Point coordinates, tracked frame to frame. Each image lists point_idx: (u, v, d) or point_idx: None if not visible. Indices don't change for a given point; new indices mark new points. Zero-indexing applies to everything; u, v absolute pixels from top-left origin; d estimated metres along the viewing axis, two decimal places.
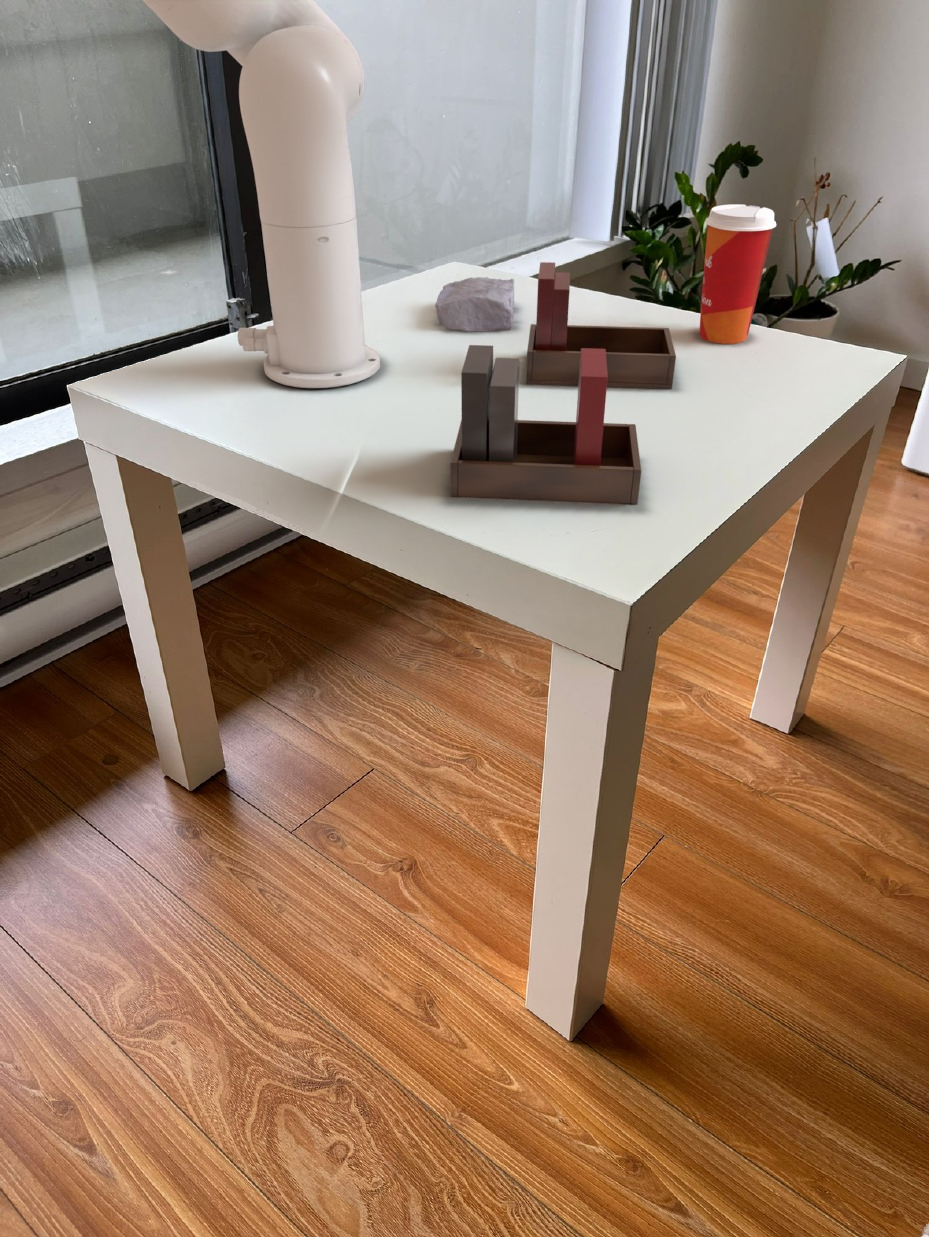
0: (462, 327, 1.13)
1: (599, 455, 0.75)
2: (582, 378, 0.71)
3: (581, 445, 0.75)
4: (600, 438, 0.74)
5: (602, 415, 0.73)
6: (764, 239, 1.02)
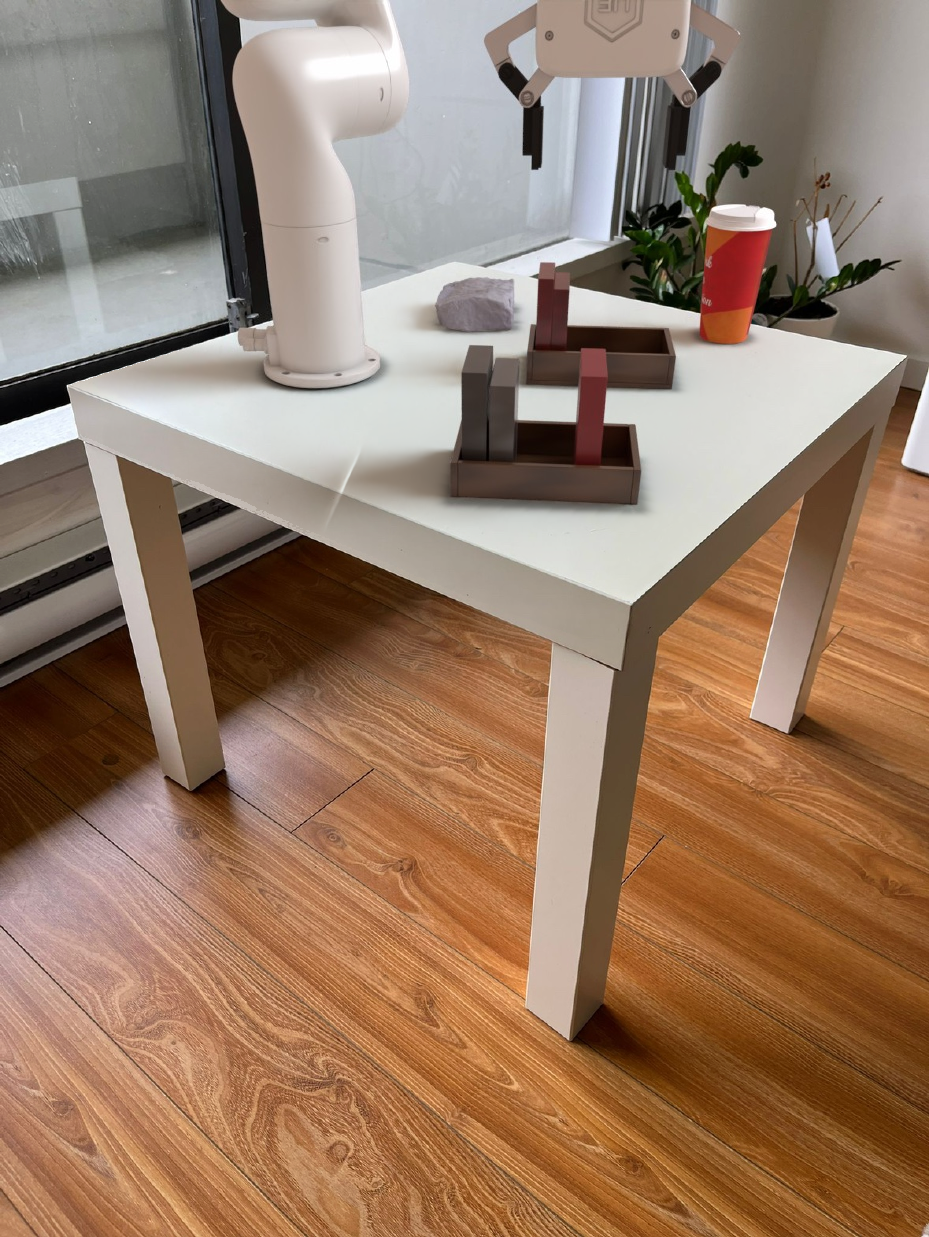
0: (462, 327, 1.13)
1: (599, 455, 0.75)
2: (582, 378, 0.71)
3: (581, 445, 0.75)
4: (600, 438, 0.74)
5: (602, 415, 0.73)
6: (764, 239, 1.02)
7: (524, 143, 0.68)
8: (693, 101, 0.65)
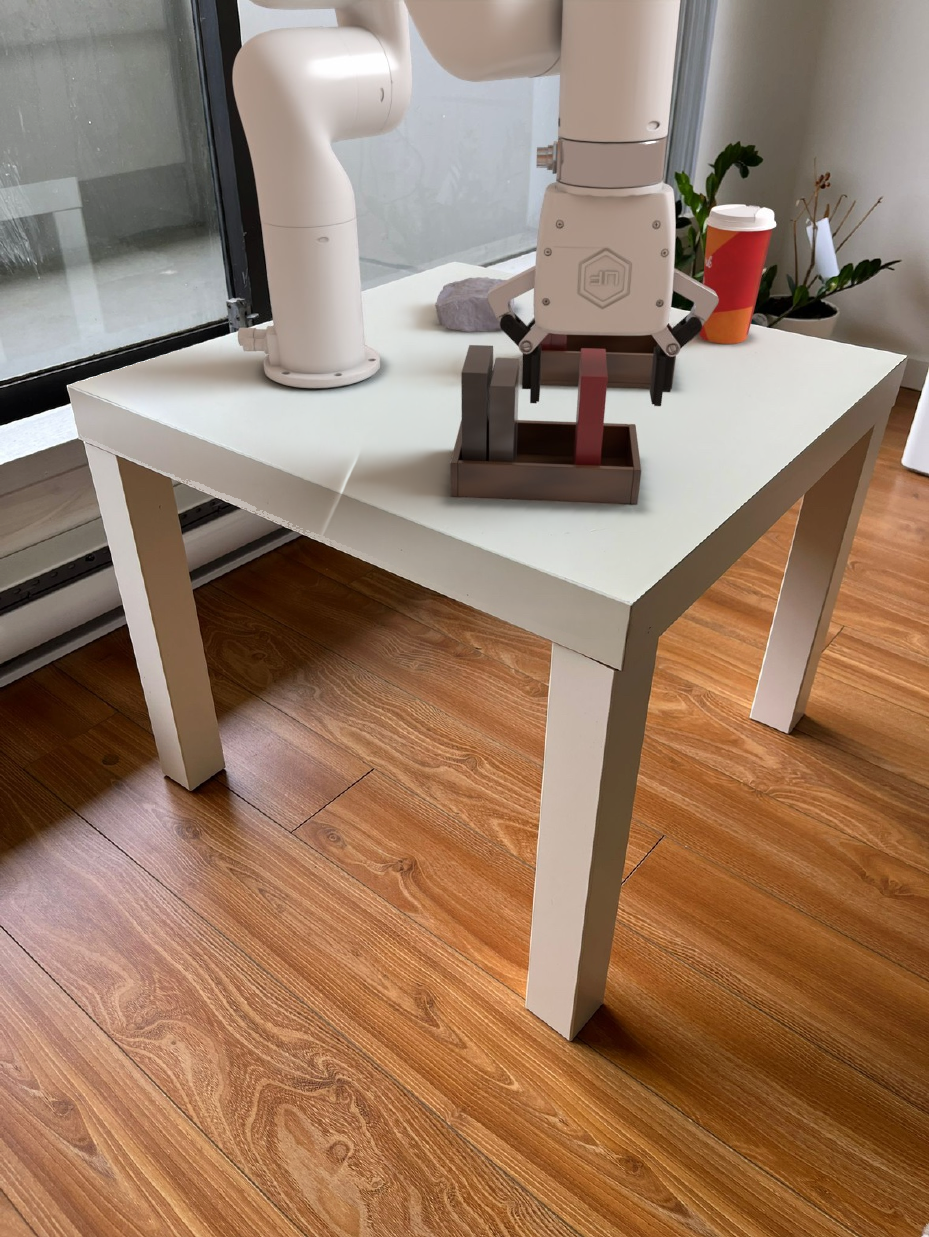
0: (462, 327, 1.13)
1: (599, 455, 0.75)
2: (582, 378, 0.71)
3: (581, 445, 0.75)
4: (600, 438, 0.74)
5: (602, 415, 0.73)
6: (764, 239, 1.02)
7: (523, 380, 0.74)
8: (677, 351, 0.71)
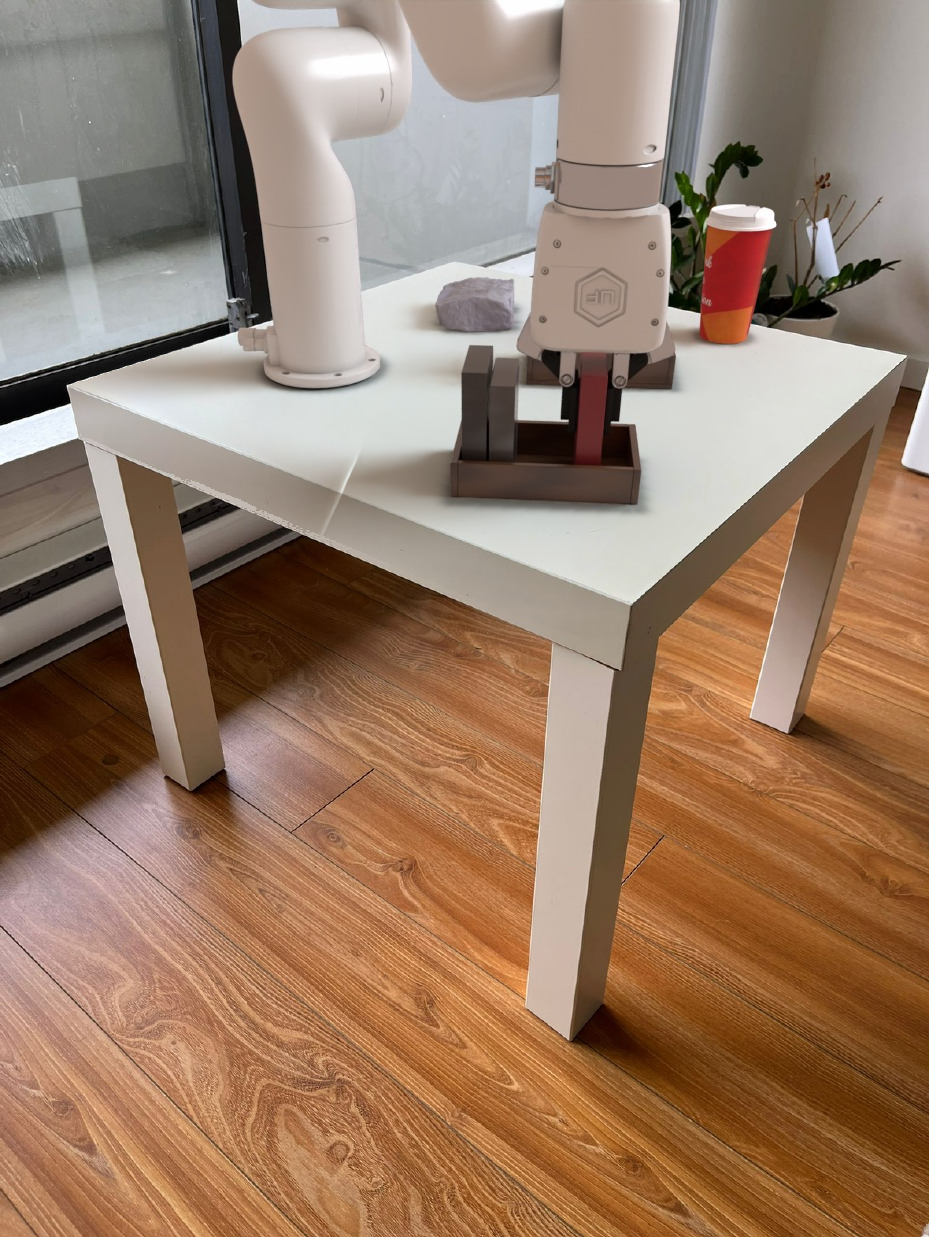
0: (462, 327, 1.13)
1: (600, 455, 0.75)
2: (582, 378, 0.71)
3: (581, 445, 0.75)
4: (600, 438, 0.74)
5: (602, 415, 0.73)
6: (764, 239, 1.02)
7: (562, 411, 0.76)
8: (624, 383, 0.73)
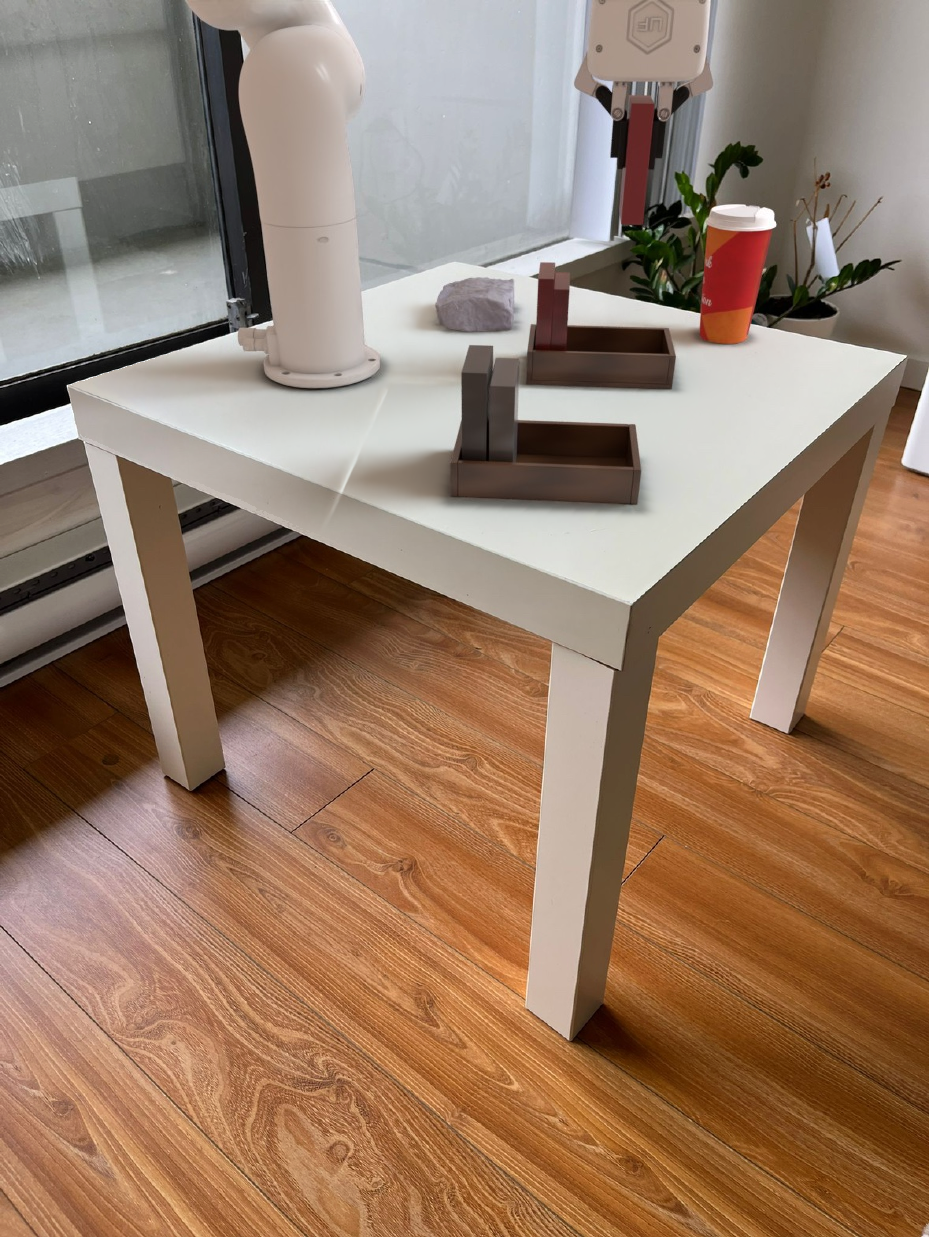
0: (462, 327, 1.13)
1: (645, 183, 0.85)
2: (632, 105, 0.82)
3: (629, 174, 0.85)
4: (646, 166, 0.85)
5: (649, 143, 0.84)
6: (764, 239, 1.02)
7: (612, 148, 0.86)
8: (668, 116, 0.84)
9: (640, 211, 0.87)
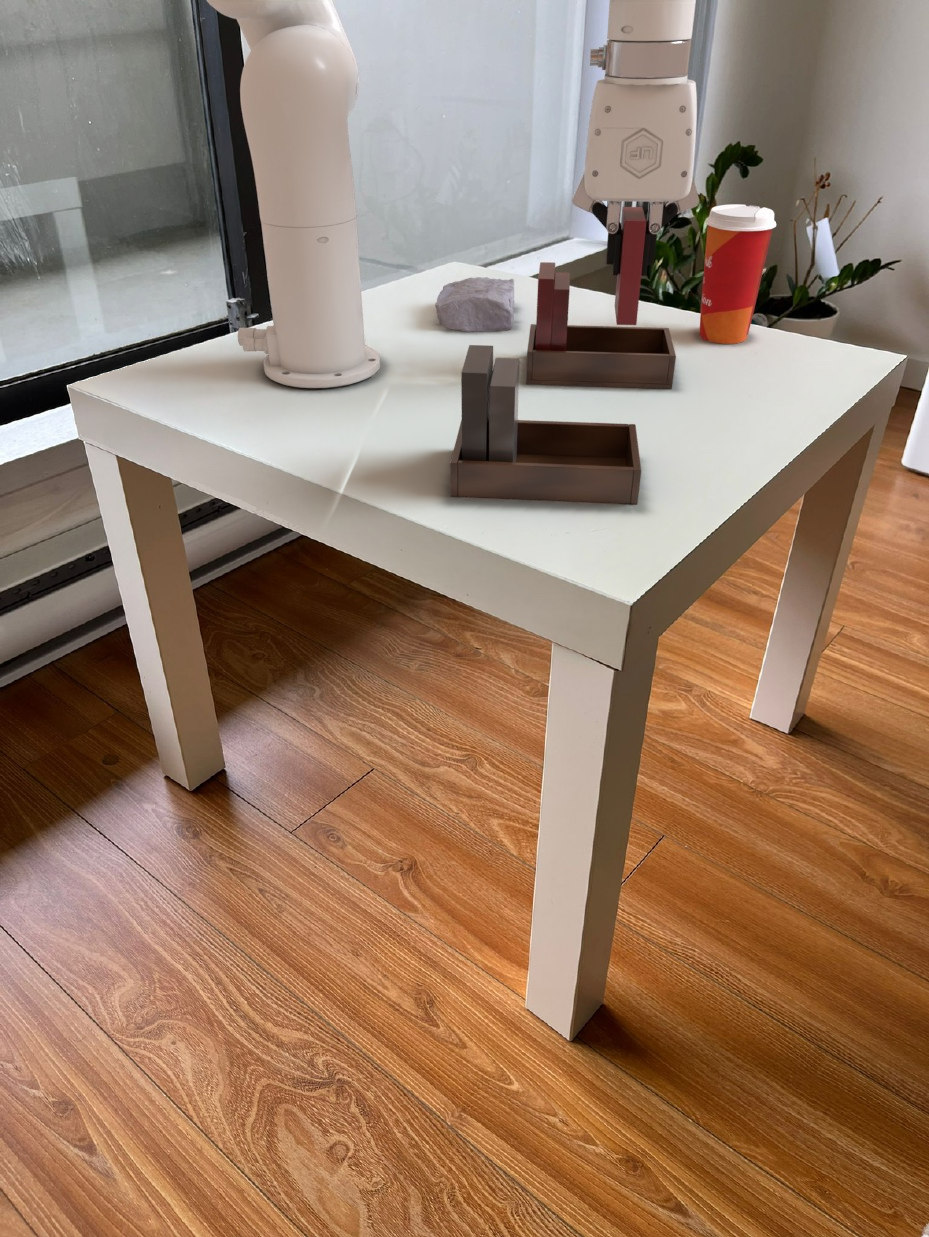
0: (462, 327, 1.13)
1: (638, 289, 0.93)
2: (626, 222, 0.90)
3: (624, 282, 0.93)
4: (639, 275, 0.93)
5: (641, 254, 0.91)
6: (764, 239, 1.02)
7: (608, 256, 0.94)
8: (658, 230, 0.92)
9: (634, 313, 0.95)
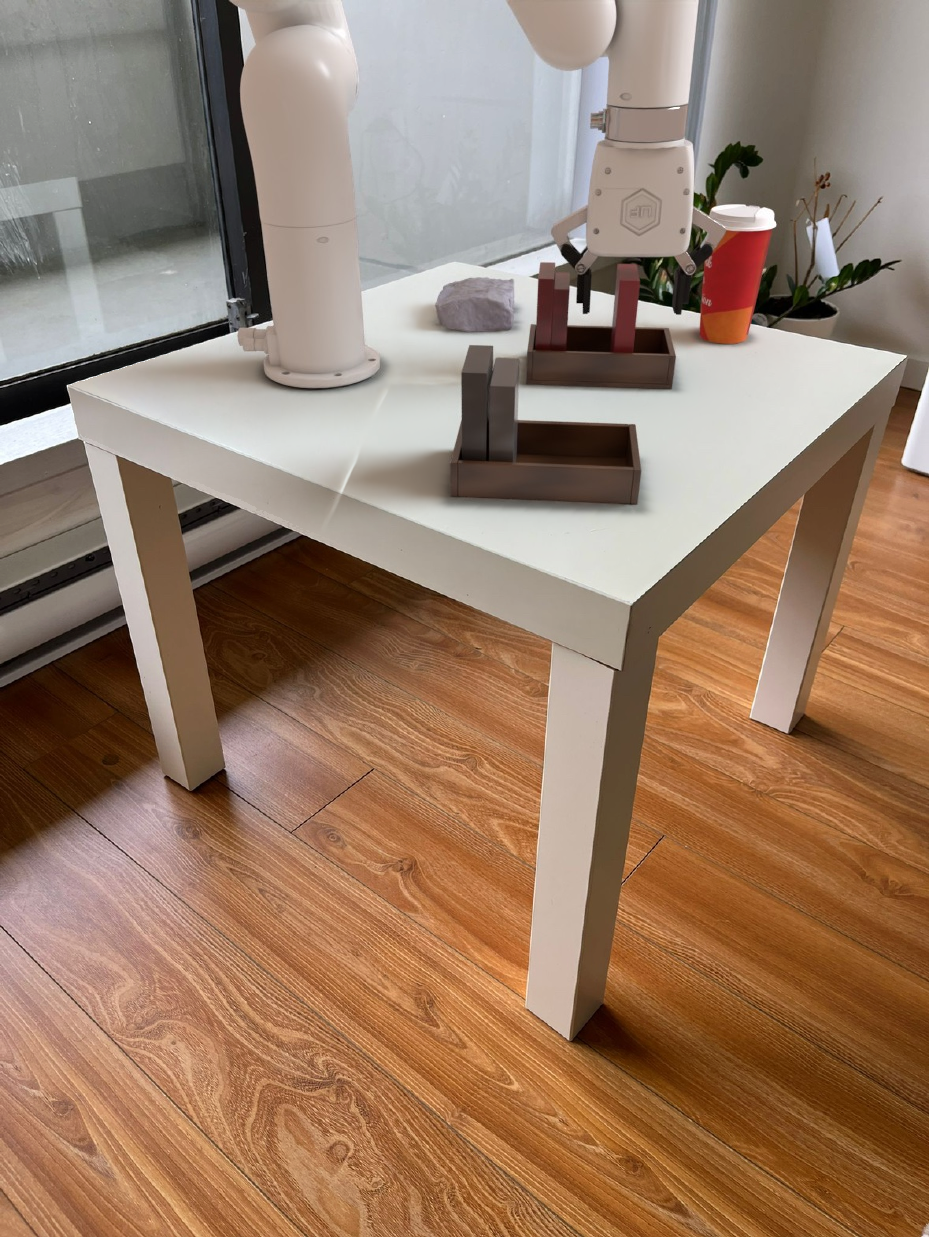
0: (462, 327, 1.13)
1: (632, 345, 0.97)
2: (620, 282, 0.93)
3: (618, 337, 0.96)
4: (633, 331, 0.96)
5: (635, 312, 0.95)
6: (764, 239, 1.02)
7: (578, 296, 0.97)
8: (693, 271, 0.94)
9: None
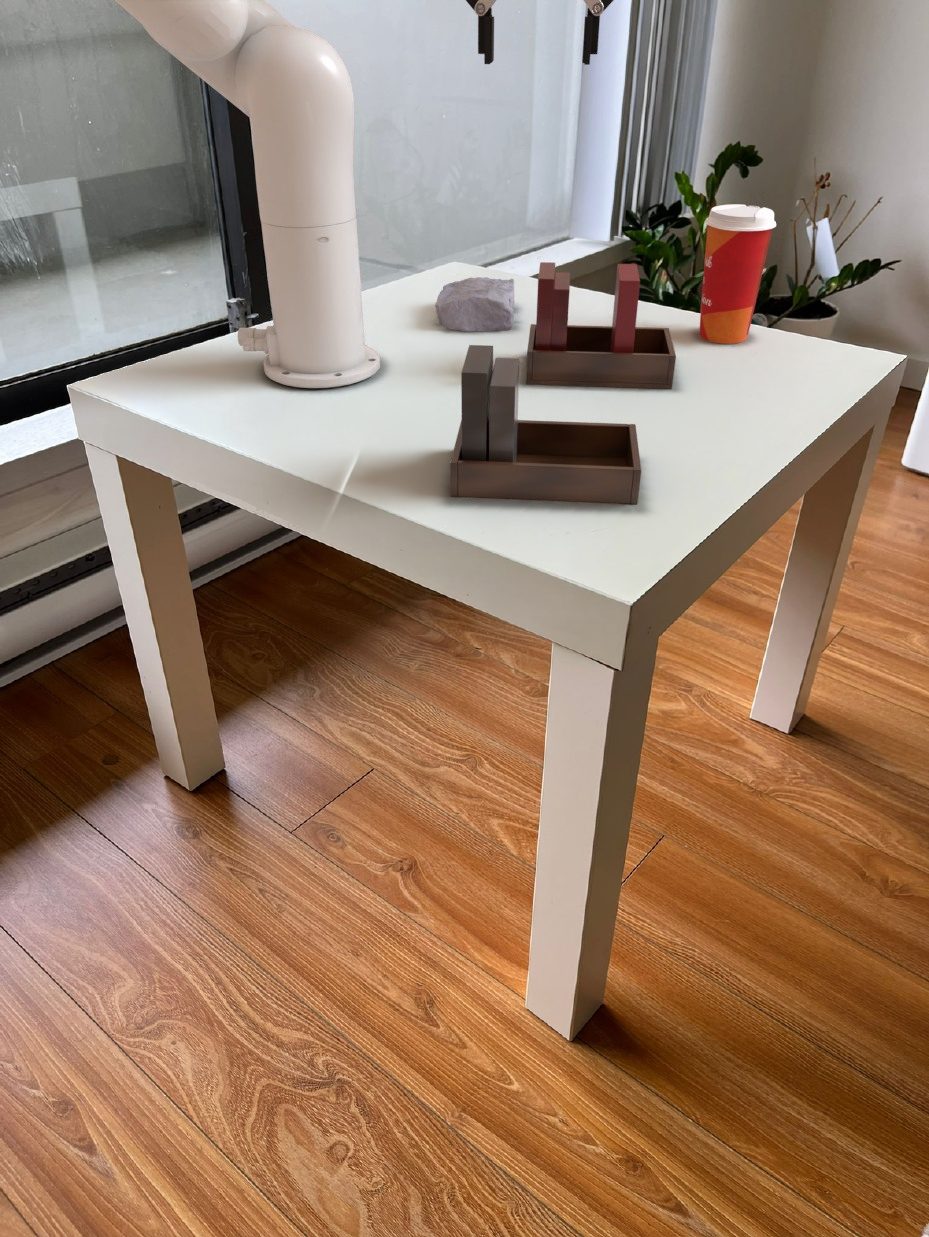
0: (462, 327, 1.13)
1: (632, 345, 0.97)
2: (620, 282, 0.93)
3: (618, 337, 0.96)
4: (633, 331, 0.96)
5: (635, 312, 0.95)
6: (764, 239, 1.02)
7: (479, 44, 0.92)
8: (601, 11, 0.89)
9: None
